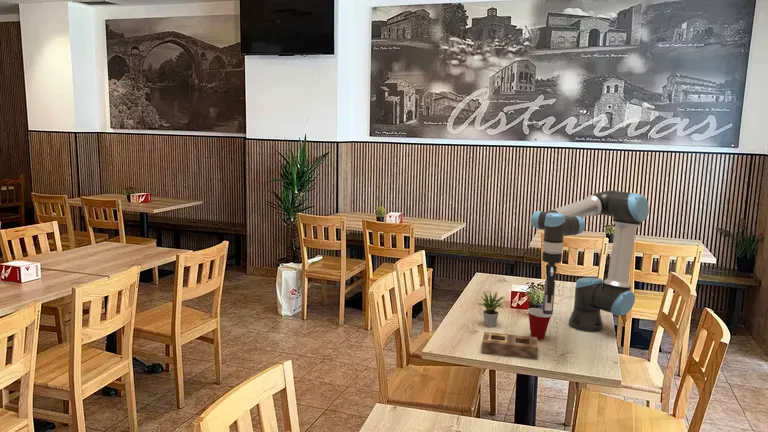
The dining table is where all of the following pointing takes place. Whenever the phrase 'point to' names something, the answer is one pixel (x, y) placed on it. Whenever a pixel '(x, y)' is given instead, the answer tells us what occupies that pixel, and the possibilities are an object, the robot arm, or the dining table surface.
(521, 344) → the hole block
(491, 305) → the house plant
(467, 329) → the dining table surface
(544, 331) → the plastic cup
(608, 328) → the dining table surface
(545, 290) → the pin
